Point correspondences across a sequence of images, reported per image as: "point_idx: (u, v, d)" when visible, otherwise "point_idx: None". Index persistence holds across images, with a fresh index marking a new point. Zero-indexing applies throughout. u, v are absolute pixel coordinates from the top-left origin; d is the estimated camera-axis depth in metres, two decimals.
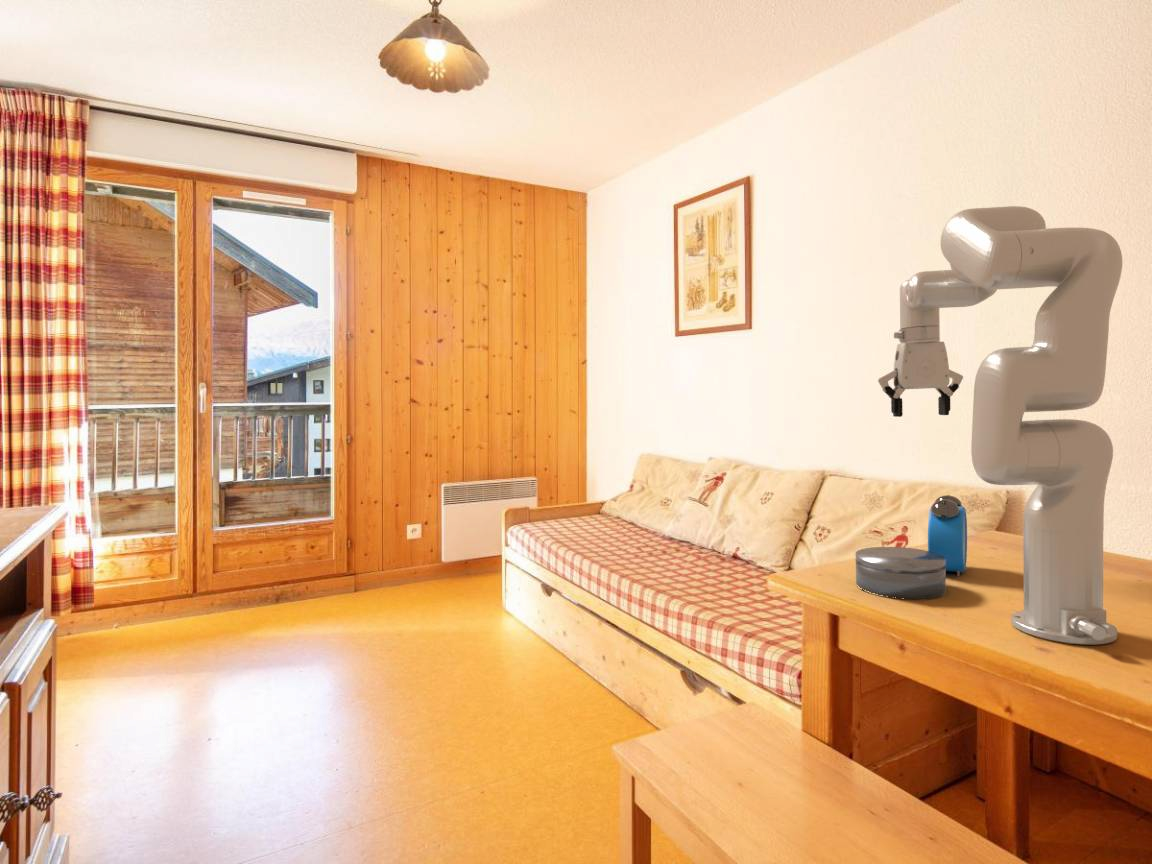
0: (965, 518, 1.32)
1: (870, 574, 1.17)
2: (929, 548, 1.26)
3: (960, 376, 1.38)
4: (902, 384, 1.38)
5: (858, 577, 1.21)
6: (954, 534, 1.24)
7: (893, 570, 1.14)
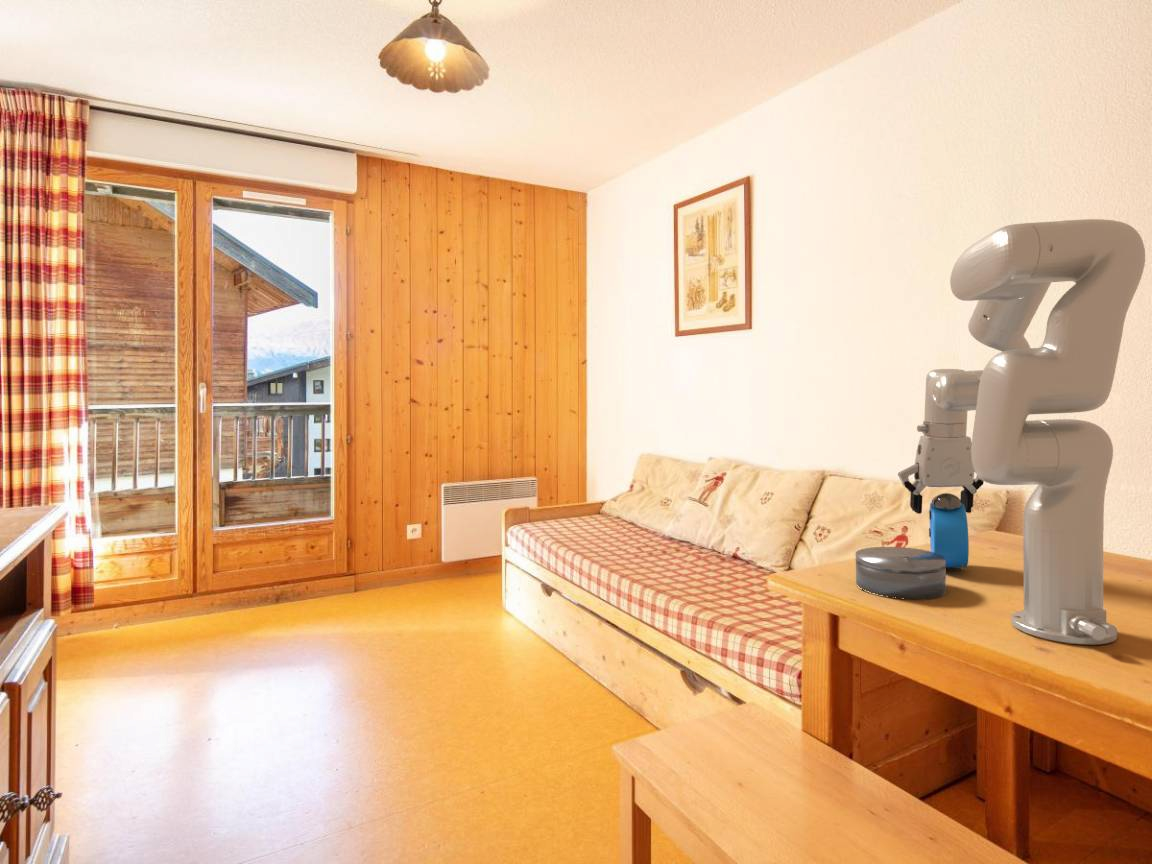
0: None
1: (870, 574, 1.17)
2: (935, 539, 1.27)
3: None
4: (923, 482, 1.30)
5: (858, 577, 1.21)
6: (959, 524, 1.25)
7: (893, 570, 1.14)
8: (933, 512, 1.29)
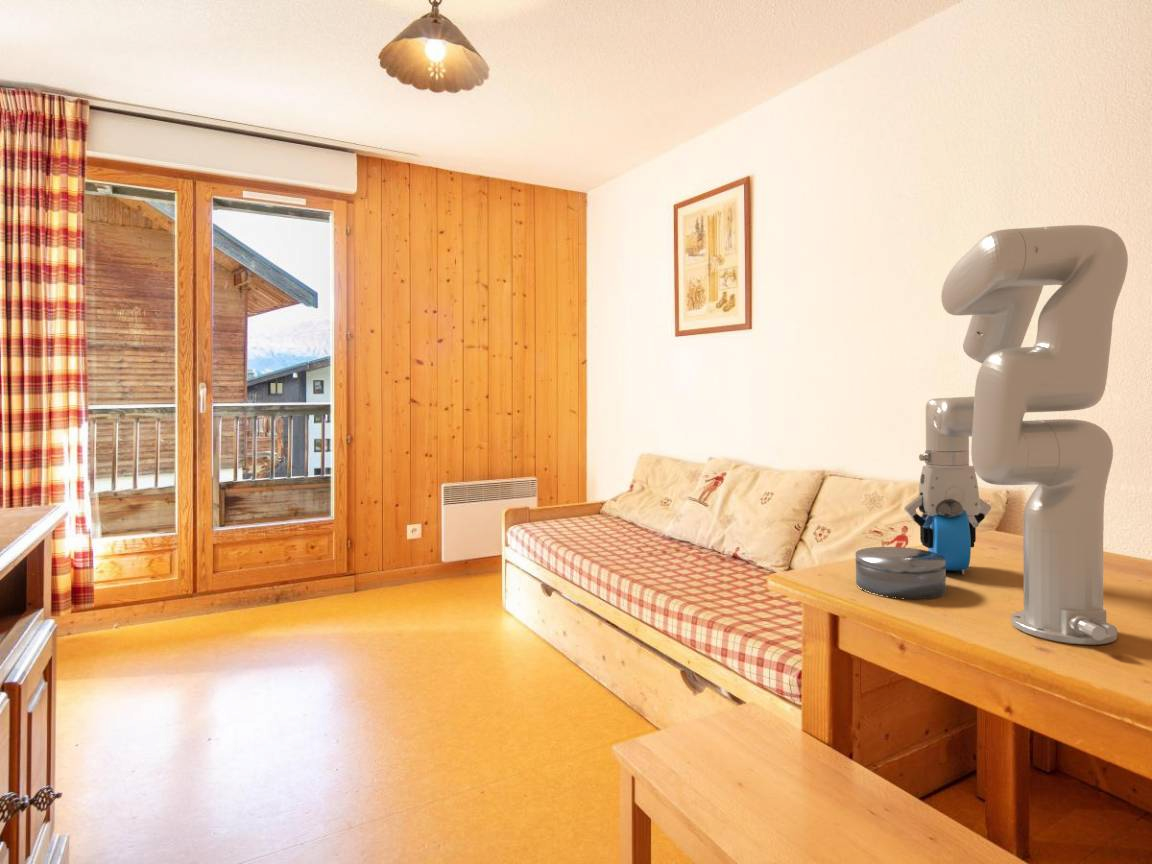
0: None
1: (870, 574, 1.17)
2: (937, 548, 1.26)
3: (988, 506, 1.29)
4: (928, 512, 1.28)
5: (858, 577, 1.21)
6: (962, 532, 1.24)
7: (893, 570, 1.14)
8: (935, 519, 1.27)
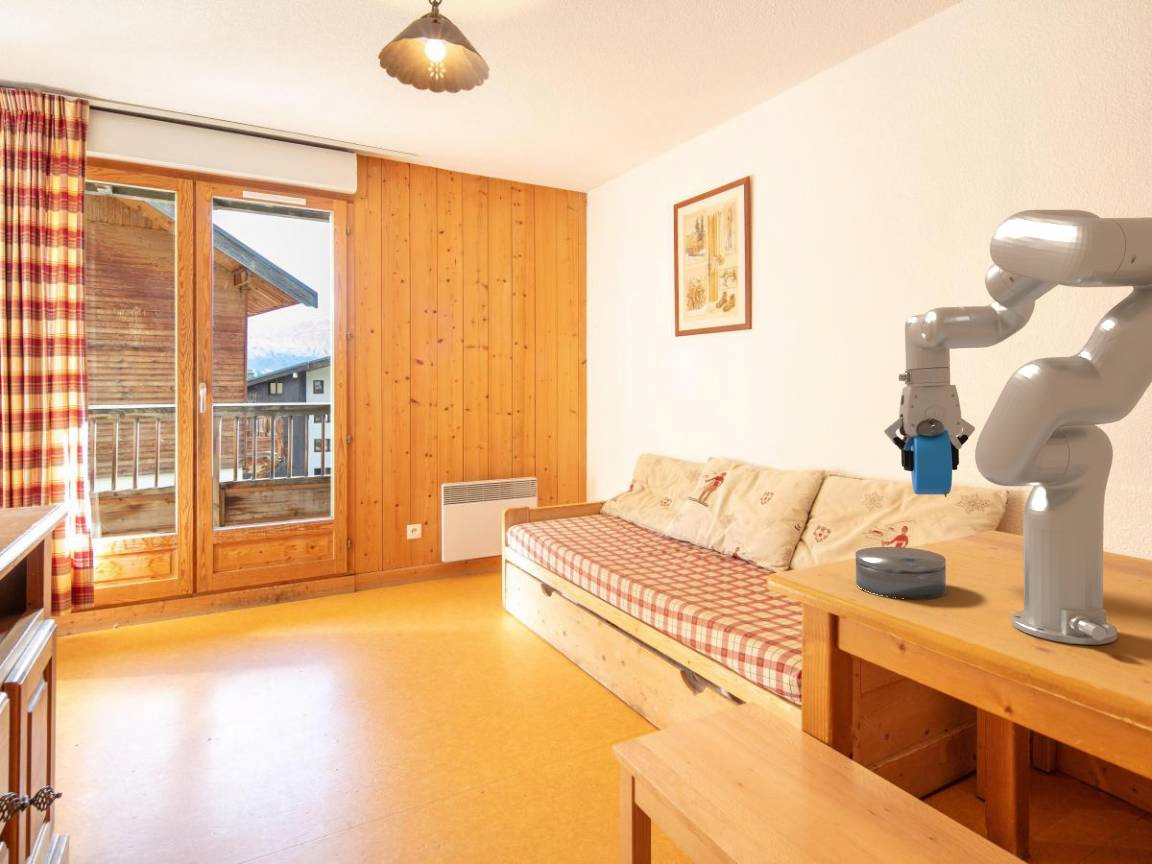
0: None
1: (870, 574, 1.17)
2: (918, 468, 1.21)
3: (972, 427, 1.24)
4: (908, 432, 1.23)
5: (858, 577, 1.21)
6: (943, 450, 1.19)
7: (893, 570, 1.14)
8: (915, 439, 1.22)
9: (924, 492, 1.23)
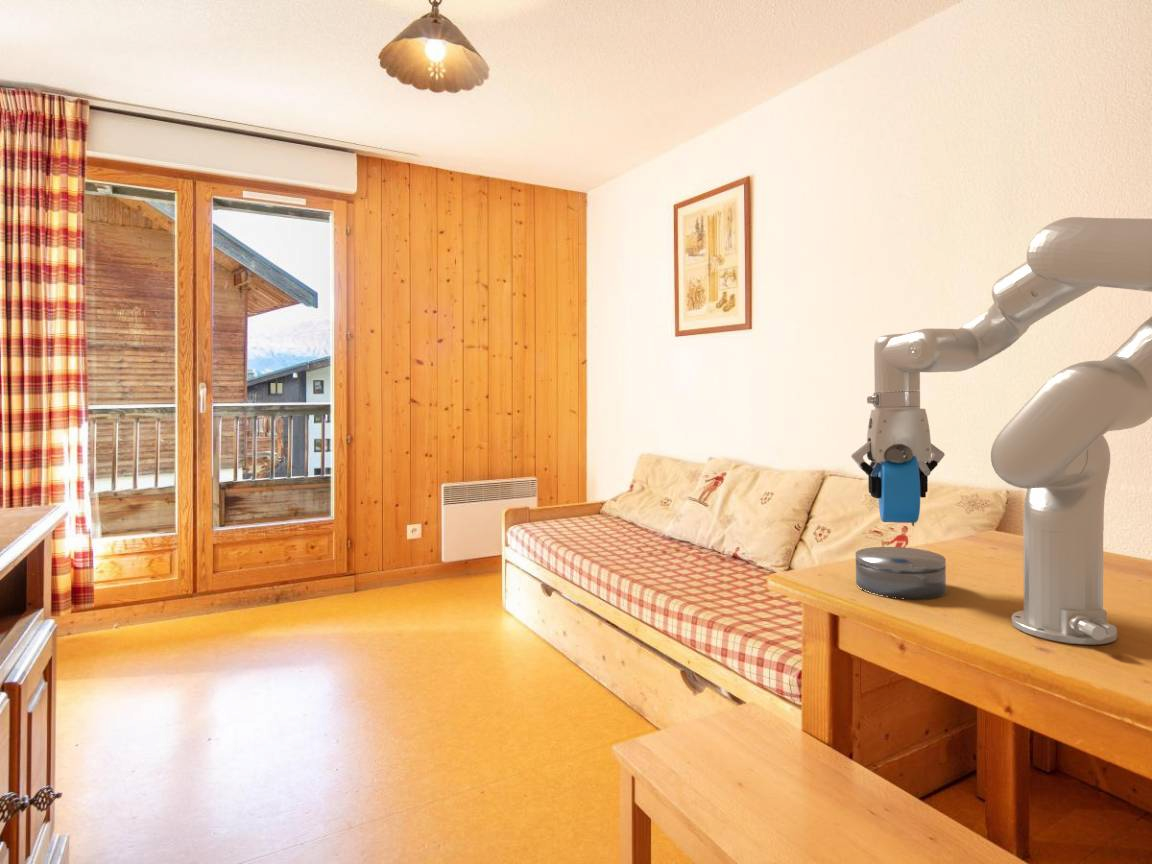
0: None
1: (870, 574, 1.17)
2: (885, 496, 1.15)
3: (941, 453, 1.18)
4: (876, 458, 1.17)
5: (858, 577, 1.21)
6: (911, 478, 1.14)
7: (893, 570, 1.14)
8: (883, 466, 1.16)
9: (891, 520, 1.18)
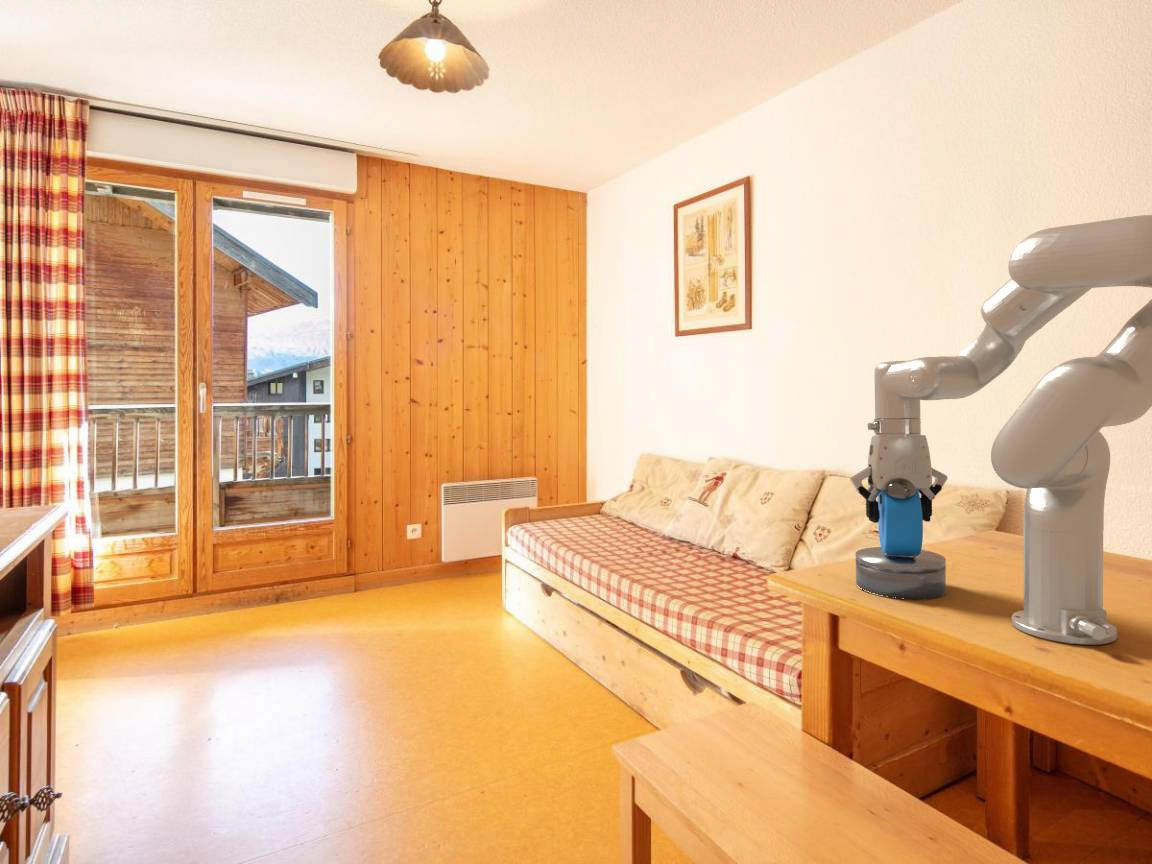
0: None
1: (870, 574, 1.17)
2: (887, 533, 1.15)
3: (944, 476, 1.18)
4: (877, 485, 1.17)
5: (858, 577, 1.21)
6: (914, 515, 1.13)
7: (893, 570, 1.14)
8: (885, 501, 1.16)
9: (893, 554, 1.18)
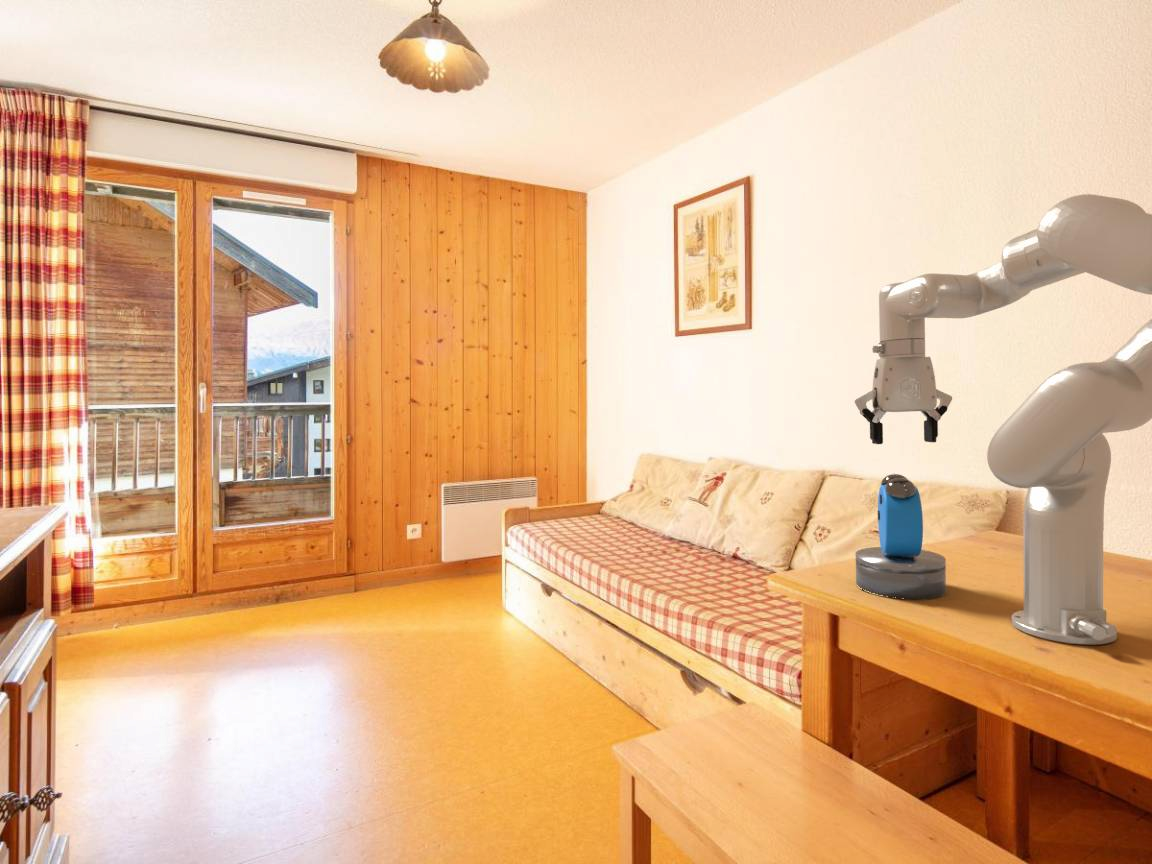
0: None
1: (870, 574, 1.17)
2: (888, 532, 1.15)
3: (949, 397, 1.19)
4: (882, 406, 1.18)
5: (858, 577, 1.21)
6: (914, 514, 1.13)
7: (893, 570, 1.14)
8: (886, 500, 1.16)
9: (893, 554, 1.18)
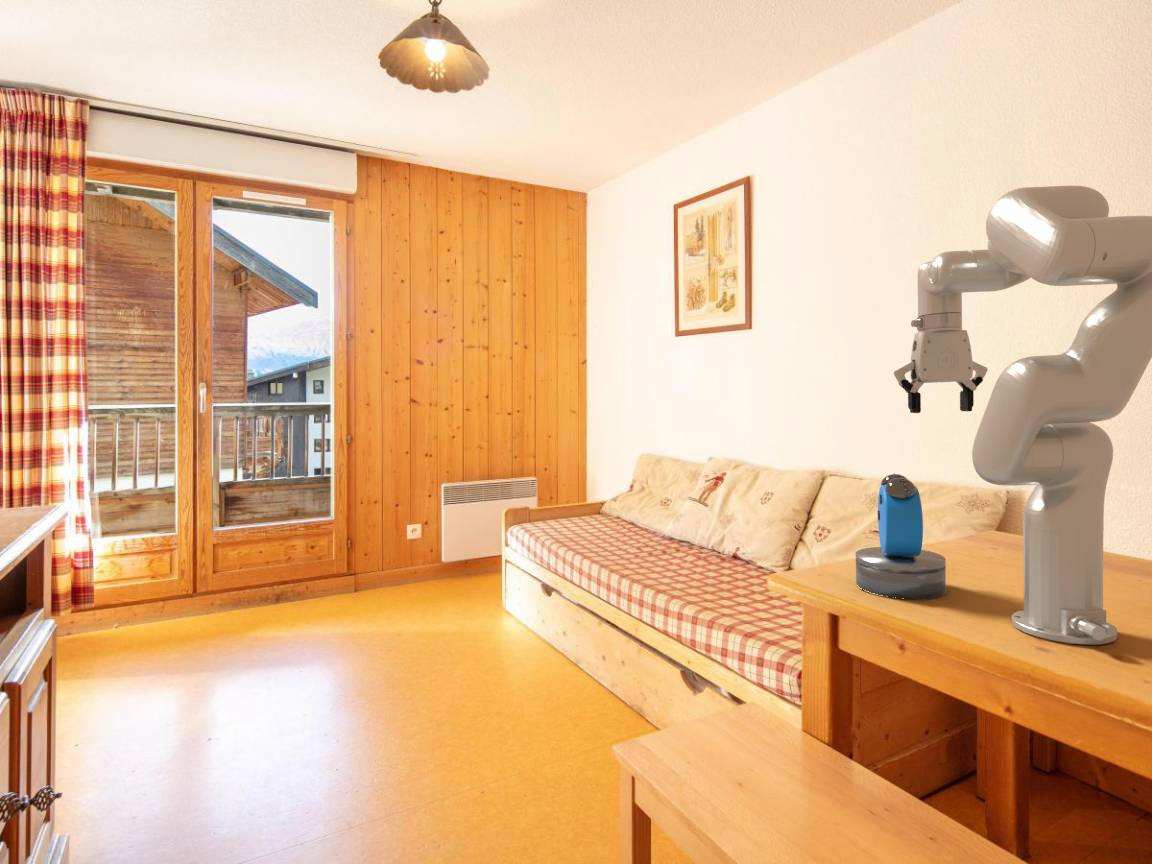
0: None
1: (870, 574, 1.17)
2: (888, 532, 1.15)
3: (984, 368, 1.26)
4: (920, 377, 1.25)
5: (858, 577, 1.21)
6: (914, 514, 1.13)
7: (893, 570, 1.14)
8: (886, 500, 1.16)
9: (893, 554, 1.18)
